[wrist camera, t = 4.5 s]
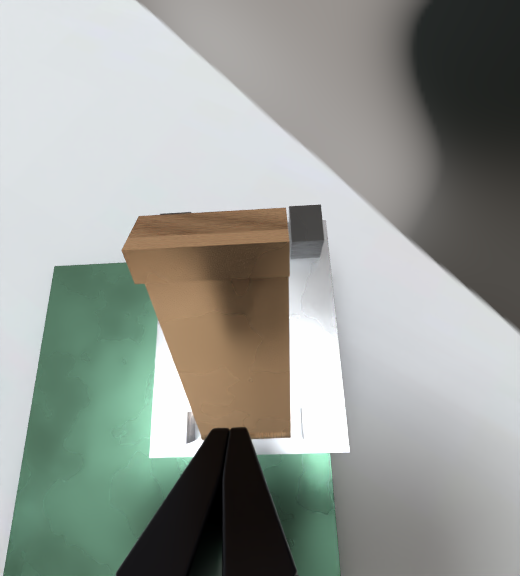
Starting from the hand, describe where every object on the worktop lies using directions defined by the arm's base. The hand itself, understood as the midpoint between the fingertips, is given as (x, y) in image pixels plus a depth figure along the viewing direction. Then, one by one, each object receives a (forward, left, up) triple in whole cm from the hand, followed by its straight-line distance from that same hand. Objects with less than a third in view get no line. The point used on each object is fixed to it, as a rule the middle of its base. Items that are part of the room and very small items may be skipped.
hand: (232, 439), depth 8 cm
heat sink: (-4, +2, -10) cm, 11 cm away
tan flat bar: (+1, +2, -1) cm, 3 cm away
